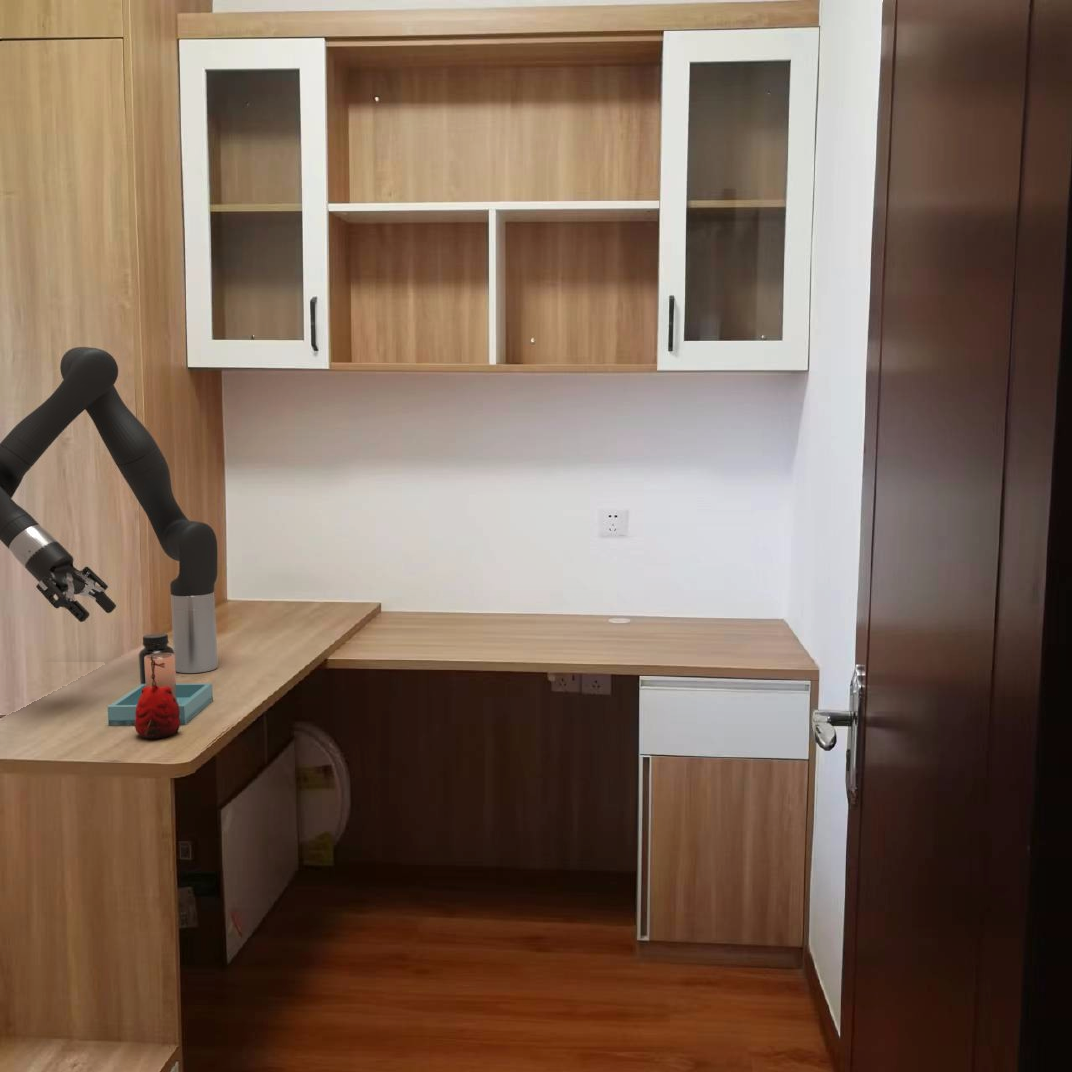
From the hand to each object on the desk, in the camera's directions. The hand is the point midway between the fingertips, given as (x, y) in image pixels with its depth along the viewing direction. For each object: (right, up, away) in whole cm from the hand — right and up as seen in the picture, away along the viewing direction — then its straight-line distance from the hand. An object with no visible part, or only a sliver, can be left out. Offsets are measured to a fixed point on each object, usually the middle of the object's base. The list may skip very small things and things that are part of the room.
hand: (99, 614), depth 193 cm
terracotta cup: (+12, -18, 0) cm, 21 cm away
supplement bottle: (+6, -17, +14) cm, 23 cm away
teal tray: (+12, -19, 0) cm, 22 cm away
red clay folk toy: (+16, -21, -14) cm, 30 cm away
